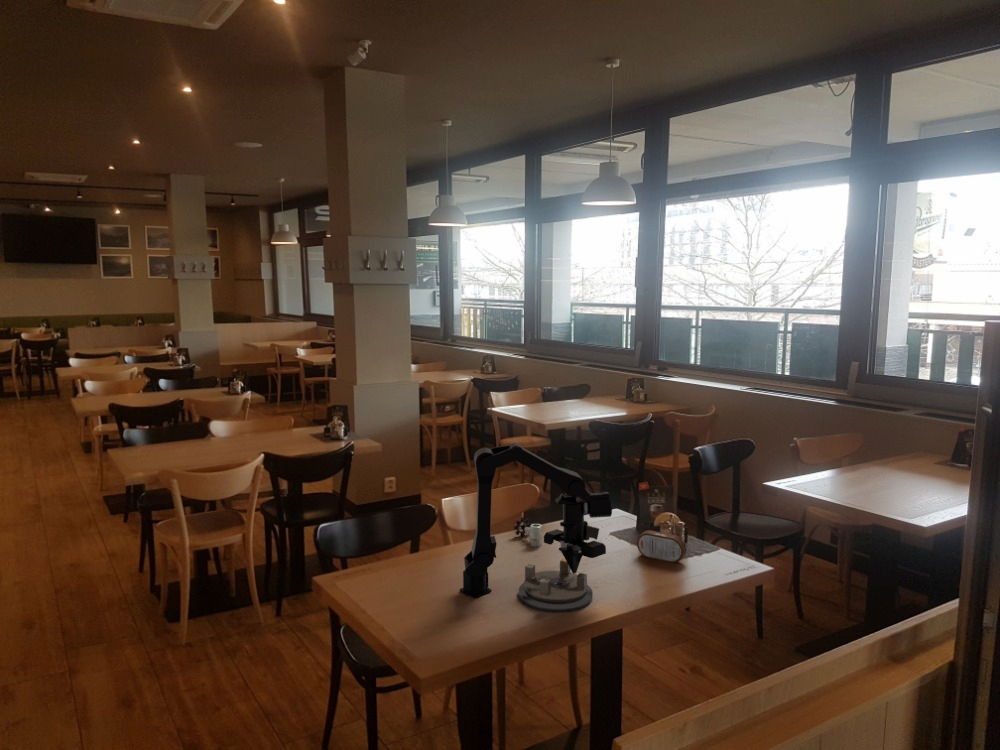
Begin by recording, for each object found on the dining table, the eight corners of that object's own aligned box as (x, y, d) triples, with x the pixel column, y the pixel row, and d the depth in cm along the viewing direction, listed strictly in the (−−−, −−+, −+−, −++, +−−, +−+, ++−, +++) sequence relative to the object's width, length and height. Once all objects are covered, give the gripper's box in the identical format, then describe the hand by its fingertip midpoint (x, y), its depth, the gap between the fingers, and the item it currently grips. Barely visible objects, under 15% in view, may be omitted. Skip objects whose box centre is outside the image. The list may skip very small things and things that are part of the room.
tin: (686, 562, 212) (686, 536, 211) (682, 566, 209) (683, 539, 208) (639, 553, 220) (639, 527, 219) (635, 556, 217) (636, 530, 216)
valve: (547, 545, 227) (530, 534, 238) (548, 525, 226) (530, 515, 237) (530, 548, 224) (513, 537, 235) (530, 528, 224) (513, 518, 234)
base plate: (558, 619, 175) (558, 611, 175) (503, 595, 189) (503, 587, 189) (607, 596, 188) (607, 588, 188) (552, 574, 203) (552, 567, 203)
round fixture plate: (574, 608, 177) (574, 586, 177) (514, 596, 185) (514, 575, 184) (595, 583, 193) (595, 563, 192) (538, 573, 200) (538, 554, 199)
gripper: (618, 519, 190) (619, 574, 191) (569, 506, 204) (570, 557, 205) (591, 528, 183) (592, 585, 184) (541, 513, 197) (543, 567, 198)
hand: (574, 573), depth 193 cm, fingers closed
